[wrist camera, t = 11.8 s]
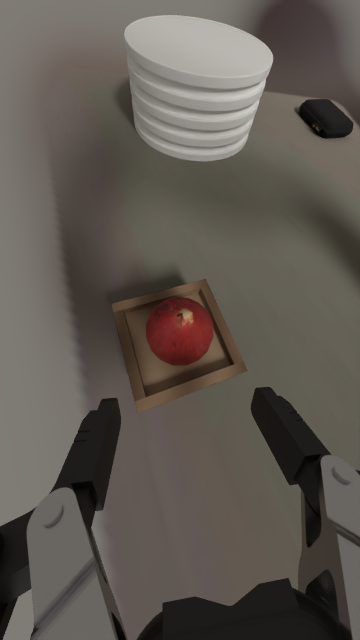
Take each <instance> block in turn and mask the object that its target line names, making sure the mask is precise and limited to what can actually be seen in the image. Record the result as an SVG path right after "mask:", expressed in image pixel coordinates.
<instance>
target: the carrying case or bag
mask: <svg viewBox="0 0 360 640" xmlns="http://www.w3.org/2000/svg"><path fill="white" fill-rule="evenodd" d="M300 115H301V116H302V117H303V118H304V119H305V121H306V122H307V123H308V124H309V125H310V126H311V127H312V129H314V130H315V131H316V133H317V134H318V135H319V136H321V137H322V138H341V137H345V136H347V135H349V134H350V133H351V132H352V130H353V122H352V121H351V120H350V119H349V118H348V117H347V116H346V115H345V114H344V113H343V112H342V111H341V110H340V109H339V108H338V107H337V106H335V105H334V104H333V103H332V102H331V101H330V100H328V99H310V100H306V101H305V102H304V103H302V105H301V106H300Z"/></svg>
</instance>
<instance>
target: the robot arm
mask: <svg viewBox="0 0 360 640" xmlns="http://www.w3.org/2000/svg"><path fill="white" fill-rule="evenodd" d="M251 412H252V415H253V417H254V419H255V421H256V423H257V425H258V427H259V429H260V431H261V433H262V434H263V436H264V438H265V440H266V442H267V444H268V446H269V448H270V450H271V451H272V453H273V455H274V457H275V459H276V461H277V463H278V465H279V467H280V468H281V470H282V472H283V474H284V476H285V478H286V480H287V482H288V483H289V485H295V484H299V486H300V488H301V490H302V491H301V523H302V552H301V557H300V561H299V569H298V590H296V589H294V588H292V586H291V584H290V581H289V578H286V579H281V580H276V581H271V582H266V583H261V584H258V585H257V586H256V587H255V588H254V589H252V590H251V591H250V592H249V593H248V594H246V595H245V596H244V597H243V598H241V599H240V600H239V601H238V602H237V603H235V604H234V605H233V606H226V605H223V604H219V603H216V602H212V601H209V600H206V599H202V598H199V597H190V598H185V599H180V600H175V601H170V602H165V603H163V611H162V612H160V613H159V614H158V615H156V616H155V617H154V618H153V619H152V620H151V621H150V622H149V623H148V624H147V626H146V627H145V628H144V630H143V631H142V632H141V634H140V635H139V637H138V638H137V640H360V471H358V470H355V469H354V468H353V467H352V466H350V465H349V464H348V463H347V462H345V461H344V460H342V459H340V458H338V457H336V456H332V455H331V454H330V452H329V451H328V450H327V449H326V448H325V446H324V445H323V444H322V443H321V441H320V440H319V439H318V438H317V436H316V435H315V434H314V433H313V431H312V430H311V429H310V428H309V426H308V425H307V424H306V423H305V421H303V419H302V418H301V416H300V415H299V414H297V411H296V410H295V409H294V408H293V406H292V405H291V404H290V403H289V402H288V401H287V400H285V399H284V398H283V397H281V396H277V395H276V393H275V392H274V391H273V389H272V388H270V387H260V388H256V389H255V392H254V395H253V399H252V403H251ZM120 426H121V415H120V409H119V404H118V399H117V398H108V399H102V400H101V402H100V405H99V407H98V410H93V411H90V412H89V413H88V415H87V416H86V417H85V418H84V419H83V421H82V423H81V425H80V428H79V430H78V434H77V435H76V437H75V439H74V443H73V444H72V446H71V449H70V451H69V453H68V456H67V458H66V460H65V463H64V465H63V467H62V470H61V472H60V474H59V477H58V479H57V481H56V484H55V485H54V487H53V489H52V490H51V492H50V493H49V495H47V496H46V497H45V498H44V499H43V500H42V501H41V502H40V503H39V505H38V506H37V507H36V508H34V509H33V510H32V511H30V512H28V513H26V514H25V515H23V516H20V517H19V518H17V519H14V520H12V521H10V522H8V523H6V524H4V525H2V526H0V640H3V636H4V634H5V631H6V629H7V626H8V623H9V620H10V618H11V615H12V612H13V609H14V607H15V604H16V601H17V598H18V597H19V596H20V595H21V594H23V593H25V592H26V591H28V590H30V589H32V600H33V610H34V629H33V632H32V634H31V638H30V640H128V639H127V636H126V632H125V629H124V626H123V623H122V620H121V617H120V614H119V611H118V608H117V605H116V602H115V599H114V596H113V593H112V591H111V588H110V585H109V582H108V579H107V576H106V573H105V570H104V567H103V564H102V561H101V557H100V554H99V551H98V548H97V545H96V542H95V538H94V535H93V532H92V529H91V526H92V522H93V518H94V514H95V511H99V510H103V508H104V503H105V498H106V493H107V489H108V484H109V479H110V474H111V470H112V465H113V460H114V455H115V451H116V446H117V441H118V436H119V432H120Z"/></svg>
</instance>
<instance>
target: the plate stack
mask: <svg viewBox="0 0 360 640" xmlns="http://www.w3.org/2000/svg"><path fill="white" fill-rule="evenodd" d="M124 38H125V46H126V50H127V53H128V57H127V63H128V71H129V75H130V89H131V94H132V106H133V112H134V123H135V128H136V131H137V133H138V134H139V136H140V137H141V138H142V139H143V140H144V141H145V142H146V143H147V144H148V145H150V146H151V147H153V148H154V149H156V150H158V151H160V152H162V153H164V154H167V155H170V156H173V157H176V158H180V159H185V160H192V161H214V160H220V159H224V158H227V157H230V156H232V155H234V154H236V153H237V152H239V151H240V150H241V149H242V148H243V147H244V145H245V143H246V141H247V138H248V134H249V131H250V128H251V126H252V123H253V119H254V115H255V113H256V111H257V108H258V105H259V98H260V97H261V95H262V93H263V90H264V87H265V83H266V77H267V76H268V74H269V71H270V68H271V66H272V63H273V55H272V53H271V51H270V49H269V48H268V47H267V46H266V45H265V44H264V43H263V42H261V41H260V40H259V39H257V38H256V37H254V36H252V35H250V34H249V33H247V32H244V31H242V30H240V29H237V28H235V27H232V26H229V25H226V24H223V23H219V22H215V21H211V20H206V19H202V18H196V17H188V16H175V15H169V16H168V15H164V16H152V17H147V18H142V19H139V20H136V21H134V22H132V23H131V24H130V25H128V26H127V28H126V29H125V32H124Z"/></svg>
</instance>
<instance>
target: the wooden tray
mask: <svg viewBox="0 0 360 640" xmlns="http://www.w3.org/2000/svg"><path fill="white" fill-rule="evenodd" d="M174 297H184V298H190V299H192V300H194V301H196V302H198V303H200V304H201V305H202V306H203V307H204V308H205V309H206V310H207V311H208V313H209V315H210V317H211V320H212V322H213V336H214V337H213V339H212V342H211V344H210V347H209V349H208V351H207V352H206V353H205V354H204V355H203V356H202V358H201V359H200V360H198V361H196V362H194V363H191V364H189V365H187V366H173V365H170V364H168V363H166V362H164V361H162V360H160V359H159V358H158V357H157V356H156V355H155V354H154V353H153V352H152V351H151V349H150V346H149V344H148V341H147V339H146V322H147V320H148V318H149V316H150V314H151V312H152V310H153V309H154V308H155V307H157V306H158V305H159V304H160V303H162V302H163V301H164V300H167V299H171V298H174ZM111 305H112V309H113V313H114V318H115V322H116V326H117V330H118V334H119V338H120V342H121V347H122V351H123V355H124V359H125V363H126V367H127V372H128V376H129V380H130V384H131V388H132V392H133V396H134V401H135V405H136V409H137V413H140V412H143V411H145V410H148V409H150V408H153V407H156V406H158V405H161V404H163V403H166V402H168V401H171V400H174V399H176V398H179V397H181V396H184V395H186V394H189V393H192V392H194V391H197V390H199V389H202V388H204V387H207V386H210V385H212V384H215V383H217V382H220V381H222V380H225V379H228V378H230V377H233V376H235V375H238V374H240V373H243V372H245V371H247V368H246V366H245V364H244V362H243V360H242V357H241V355H240V353H239V351H238V349H237V346H236V344H235V342H234V340H233V338H232V336H231V333H230V331H229V329H228V327H227V325H226V322H225V320H224V318H223V316H222V314H221V311H220V309H219V307H218V305H217V303H216V300H215V298H214V296H213V294H212V292H211V289H210V287H209V285H208V283H207V281H206V279H204V280H200V281H197V282H193V283H189V284H185V285H181V286H177V287H174V288H170V289H166V290H162V291H158V292H155V293H151V294H147V295H143V296H139V297H135V298H132V299H128V300H124V301H120V302H116V303H113V304H111Z"/></svg>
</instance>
